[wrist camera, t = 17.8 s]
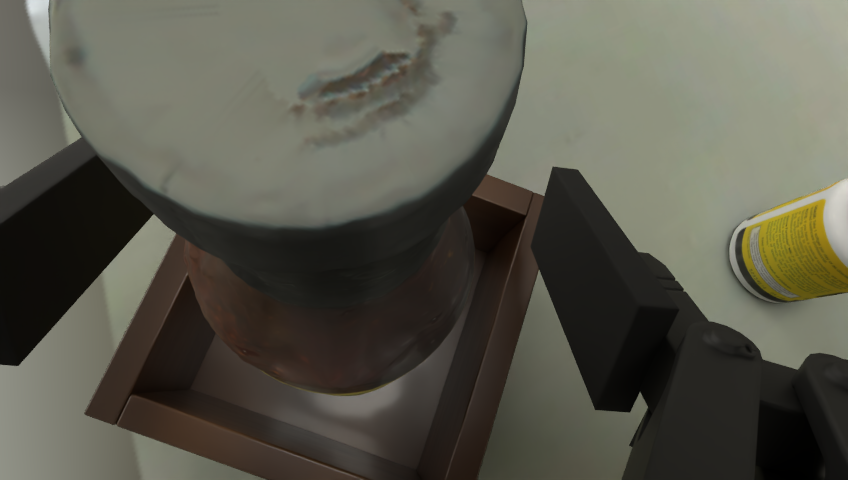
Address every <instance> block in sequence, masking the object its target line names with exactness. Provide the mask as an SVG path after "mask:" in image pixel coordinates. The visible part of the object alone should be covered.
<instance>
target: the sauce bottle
mask: <svg viewBox="0 0 848 480" xmlns="http://www.w3.org/2000/svg"><path fill="white" fill-rule="evenodd" d="M48 11H49V29H50V75H51V78H52V80H53V83H54V85H55V87H56V90H57V92H58V95H59V97H60V99H61V102H62V104H63V107H64V109H65V111H66V113H67V114H68V116H69V118H70V119H71V121H72V122H73V124H74V125H75V127H76V129H77V130H78V132H79V133H80V135H81V137H82V138H83V140H84V141H85V142H86V143H87V144H88V145H89V146H90V148H91V149H92V150H93V151H94V152H95V153H96V154H97V156H98V157H99V158H100V159H101V160H102V161H103V163H104V164H105V165H106V166H107V167H108V168H109V169H110V171H111V172H112V173H113V174H114V175H115V177H116V178H117V179H118V180H119V181H120V182H121V183H122V184H123V186H124V187H125V188H126V189H127V190H128V191H129V192H130V193H131V194H132V195H133V196H134V197H136V198H137V199H139V200H140V201H141V202H142V203H143V204H144V205H145V206H146V207H147V208H148V209H149V210H150V211H152V212H153V213H154V214H155V215H156V216H157V217H158V218H159V219H160V220H161V221H162V222H163V223H164V224H165V225H166V226H167V227H168V228H170V229H171V230H173V231H174V232H175V233H177V234H178V235H180V236H181V237H183V238H184V239H185V249H184V262H185V264H186V266H187V271H188V275H189V279H190V281H191V284H192V286H193V289H194V291H195V295H196V299H197V301H198V303H199V305H200V307H201V310H202V313H203V315H204V317H205V319H206V320H207V321H208V322H209V324H210V326H211V328H212V329H213V330H214V331H215V332H216V333H217V334H218V336H219V337H220V338H221V340H222V341H223V342H224V343H225V344H226V345H227V346H228V347H229V348H230V349H231V350H232V351H233V352H235V353H236V354H237V355H238V356H239V358H241V359H242V360H243V361H244V362H246V363H248V364H251V365H253V366H254V367H256V368H258V369H260V370H261V371H262V372H264V373H265V374H267V375H269V376H271V377H272V378H274V379H276V380H278V381H280V382H282V383H284V384H287V385H289V386H292V387H295V388H298V389H301V390H305V391H309V392H314V393H322V394H328V395H334V396H357V395H361V394H365V393H369V392H372V391H375V390H377V389H380V388H382V387H384V386H386V385H388V384H390V383H391V382H393V381H395V380H397V379H399V378H400V377H402V376H404V375H405V374H407V373H408V372H410V371H411V370H413V369H415V368H416V367H417V366H418V365H420V364H421V363H422V362H424V361H425V360H426V359H427V358H428V357H429V356H430V355H431V354H432V353H433V352H434V351H435V350H436V349H437V348H438V347H439V346H440V345H441V343H442V342H443V341H444V340H445V338H446V337H447V336H448V335H449V333H450V332H451V331H452V329H453V327H454V325H455V324H456V322H457V320H458V318H459V317H460V315H461V313H462V311H463V308H464V306H465V304H466V301H467V298H468V295H469V292H470V288H471V283H472V278H473V274H474V255H475V247H474V240H473V234H472V230H471V226H470V222H469V219H468V216H467V214H466V211H465V209H464V207H463V205H464V204H465V203H466V202H467V201H468V199H469V198H470V197H471V195H472V194H473V193H474V192H475V190H476V189H477V188H478V186H479V185H480V184H481V182H482V180H483V179H484V177H485V175H486V174H487V172H488V170H489V168H490V167H491V165H492V163H493V161H494V158H495V155H496V152H497V150H498V148H499V144H500V142H501V140H502V138H503V135H504V132H505V130H506V127H507V124H508V122H509V119H510V117H511V114H512V111H513V109H514V106H515V103H516V98H517V94H518V89H519V84H520V79H521V75H522V71H523V67H524V56H525V44H526V32H527V20H526V16H525V12H524V8H523V5H522V0H49V8H48Z"/></svg>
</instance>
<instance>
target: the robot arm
mask: <svg viewBox="0 0 848 480" xmlns="http://www.w3.org/2000/svg"><path fill="white" fill-rule="evenodd" d="M153 214H154V213H153V212H152V211H150V210H149V209H148V208H147V207H146V206H145V205H144V204H143V203H142V202H141V201H140V200H139V199H137V198H136V197H134V196H133V195H132V194H131V193H130V192H129V191H128V190H127V189H126V188H125V187H124V186H123V184H122V183H121V182H120V181H119V180H118V179H117V178H116V177H115V175H114V174H113V173H112V172H111V171H110V169H109V168H108V167H107V166H106V165H105V164H104V163H103V161H102V160H101V159H100V158H99V157H98V156H97V154H96V153H95V152H94V151H93V150H92V149H91V148H90V146H89V145H88V144H87V143H86V142H85V141H84V140H83V138H80V139H79V140H77V141H75V142H74V143H72V144H71V145H69V146H68V147H66V148H64V149H63V150H61V151H60V152H58V153H56V154H55V155H53V156H52V157H50V158H49V159H47V160H45V161H44V162H42V163H41V164H39V165H38V166H36V167H34V168H33V169H31V170H30V171H28V172H27V173H25V174H23V175H22V176H20V177H19V178H17V179H16V180H14V181H13V182H11V183H9V184H8V185H6V186H1V187H0V364H1V365H12V366H19V364H20V363H21V362H22V361H23V360H24V359H25V358H26V357H27V356H28V354H29V353H30V352H31V351H32V350H33V349H34V348H35V346H36V345H37V344H38V343H39V342H40V341H41V340H42V339H43V338H44V336H45V335H46V334H47V333H48V332H49V331H50V330H51V328H52V327H53V326H54V325H55V324H56V323H57V322H58V321H59V320H60V319H61V317H62V316H63V315H64V314H65V313H66V312H67V311H68V309H69V308H70V307H71V306H72V305H73V304H74V303H75V302H76V301H77V299H78V298H79V297H80V296H81V295H82V294H83V293H84V291H85V290H86V289H87V288H88V287H89V286H90V285H91V284H92V283H93V282H94V280H95V279H96V278H97V277H98V276H99V275H100V274H101V273H102V271H103V270H104V269H105V268H106V267H107V266H108V265H109V264H110V262H111V261H112V260H113V259H114V258H115V257H116V256H117V255H118V254H119V252H120V251H121V250H122V249H123V248H124V247H125V246H126V245H127V243H128V242H129V241H130V240H131V239H132V238H133V237H134V236H135V234H136V233H137V232H138V231H139V230H140V229H141V228H142V227H143V225H144V224H145V223H146V222H147V221H148V220H149V219H150V218H151V216H152V215H153ZM530 247H531V250H532V252H533V255H534V257H535V260H536V262H537V265H538V267H539V270H540V272H541V275H542V277H543V280H544V282H545V285H546V287H547V290H548V292H549V295H550V297H551V300H552V302H553V305H554V308H555V310H556V313H557V315H558V318H559V320H560V323H561V325H562V328H563V330H564V333H565V335H566V338H567V340H568V343H569V345H570V348H571V350H572V353H573V355H574V358H575V360H576V363H577V365H578V368H579V370H580V373H581V375H582V378H583V380H584V383H585V385H586V388H587V390H588V393H589V395H590V398H591V400H592V403H593V406H594V408H595V410H604V411H617V412H630V411H631V409H632V407H633V405H634V403H635V401H636V399H637V397H638V395H639V392H641V394H642V396H643V398H644V400H645V402H646V404H647V406H648V409H647V411H646V413H645V415H644V417H643V419H642V421H641V423H640V425H639V427H638V429H637V431H636V433H635V435H634V437H633V439H632V441H631V443H630V445H629V446H631V447H632V450H631V453H630V456H629V459H628V462H627V465H626V468H625V471H624V474H623V477H622V480H848V360H846V359H841V358H839V357H836V356H833V355H828V354H823V353H817V354H810V355H809V356H808V357H807V358H806V359H805V361H804V362H803V364H802V365H801V366H800V368H799V369H798V370H796V369H792V368H789V367H786V366H782V365H779V364H776V363H772V362H769V361H765V360H762V357H761V353H760V350H759V349H758V348H757V347H756V346H755V344H754V343H753V342H752V341H751V340H749V339H748V338H747V337H745V336H744V335H743V334H741V333H739V332H737V331H736V330H734V329H732V328H730V327H728V326H725V325H721V324H718V323H715V322H709V321H708V320H707V318H706V317H705V316H704V315H703V313H702V312H701V311H700V309H699V308H698V307H697V306H696V304H695V303H694V302H693V300H692V299H691V298H690V297H689V295H688V294H687V293H686V292H683V290H684V289H683V288H682V286H681V285H680V284H679V283H678V281H675V277H674V276H673V275H672V274H671V272H670V271H669V270H668V268H667V267H666V266H665V265H664V264H662V263H661V262H660V261H658V260H657V259H656V258H654V257H653V256H652V255H650V254H649V253H641V252H637V250H636V249H635V248H634V246H633V245H632V243H631V242H630V241H629V239H628V238H627V237H626V235H625V234H624V232H623V231H622V230H621V228H620V227H619V226H618V224H617V223H616V221H615V220H614V219H613V217H612V216H611V215H610V213H609V212H608V210H607V209H606V208H605V206H604V205H603V204H602V202H601V201H600V199H599V198H598V197H597V195H596V194H595V193H594V191H593V190H592V188H591V187H590V186H589V184H588V183H587V182H586V180H585V179H584V177H583V176H582V175H581V173H580V172H579V171H578V170H576V169H567V168H559V167H553V168H552V171H551V175H550V178H549V182H548V186H547V189H546V193H545V196H544V200H543V203H542V207H541V210H540V214H539V218H538V221H537V225H536V228H535V232H534V235H533V239H532V242H531V246H530Z"/></svg>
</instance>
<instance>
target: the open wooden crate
mask: <svg viewBox="0 0 848 480" xmlns="http://www.w3.org/2000/svg"><path fill="white" fill-rule="evenodd" d="M543 200H544V196H542V195H539V194H537V193H533V192H532V191H529V190H527V189H524V188H521V187H519V186H516V185H513V184H511V183H508V182H505V181H503V180H500V179H498V178H495V177H492V176H490V175H487V174H486V175H485V177H484V179H483V180H482V182H481V184H480V185H479V186H478V188H477V189H476V190H475V192H474V193H473V194H472V195H471V197H470V198H469V199H468V201H467V202H466V203H465V204H464V205H463V207H464V209H465V211H466V214H467V216H468V219H469V222H470V226H471V230H472V234H473V240H474V247H475V255H474V274H473V278H472V283H471V288H470V292H469V295H468V298H467V301H466V304H465V306H464V308H463V311H462V313H461V315H460V317H459V318H458V320H457V322H456V324H455V325H454V327H453V329H452V331H451V332H450V333H449V335H448V336H447V337H446V338H445V340H444V341H443V342H442V343H441V345H440V346H439V347H438V348H437V349H436V350H435V351H434V352H433V353H432V354H431V355H430V356H429V357H428V358H427V359H426V360H425V361H424V362H422V363H421V364H420V365H418V366H417V367H416V368H415V369H413V370H411V371H410V372H408V373H407V374H405V375H404V376H402V377H400V378H399V379H397V380H395V381H393V382H391V383H390V384H388V385H386V386H384V387H382V388H380V389H377V390H375V391H372V392H369V393H365V394H361V395H357V396H334V395H328V394H322V393H314V392H309V391H305V390H301V389H298V388H295V387H292V386H289V385H287V384H284V383H282V382H280V381H278V380H276V379H274V378H272V377H271V376H269V375H267V374H265V373H264V372H262V371H261V370H260V369H258V368H256V367H254V366H253V365H251V364H248V363H246V362H244V361H243V360H242V359H241V358H239V356H238V355H237V354H236V353H235V352H233V351H232V350H231V349H230V348H229V347H228V346H227V345H226V344H225V343H224V342H223V341H222V340H221V338H220V337H219V336H218V334H217V333H216V332H215V331H214V330H213V329H212V328H211V326H210V324H209V322H208V321H207V320H206V319H205V317H204V315H203V313H202V310H201V307H200V305H199V303H198V301H197V299H196V295H195V291H194V289H193V286H192V284H191V281H190V279H189V275H188V271H187V266H186V264H185V262H184V249H185V239H184V238H183V237H181V236H180V235H178V234H177V233H176V234H175V236H174V238H173V240H172V242H171V244H170V246H169V248H168V250H167V252H166V254H165V256H164V258H163V259H162V261H161V263H160V265H159V267H158V269H157V271H156V273H155V275H154V277H153V279H152V281H151V283H150V285H149V287H148V289H147V291H146V293H145V295H144V297H143V299H142V301H141V303H140V305H139V306H138V308H137V310H136V312H135V314H134V316H133V318H132V320H131V322H130V324H129V326H128V328H127V330H126V332H125V334H124V336H123V338H122V340H121V342H120V344H119V346H118V348H117V350H116V352H115V353H114V355H113V357H112V359H111V361H110V363H109V365H108V367H107V369H106V371H105V373H104V375H103V377H102V379H101V381H100V383H99V385H98V387H97V389H96V391H95V393H94V395H93V397H92V399H91V400H90V403H89V405H88V406H87V409H86V410H85V413H84V414H85V415H87V416H90V417H92V418H95V419H98V420H101V421H104V422H107V423H110V424H112V425H115V424H117V426H118V427H121V428H124V429H127V430H129V431H132V432H135V433H138V434H141V435H143V436H146V437H149V438H152V439H155V440H157V441H160V442H163V443H166V444H169V445H171V446H174V447H177V448H180V449H183V450H185V451H188V452H191V453H194V454H197V455H199V456H202V457H205V458H208V459H211V460H213V461H216V462H219V463H222V464H225V465H227V466H230V467H233V468H236V469H239V470H241V471H244V472H247V473H250V474H252V475H255V476H258V477H261V478H264V479H266V480H477V478H478V475H479V471H480V468H481V465H482V461H483V458H484V454H485V451H486V448H487V444H488V441H489V437H490V434H491V431H492V427H493V424H494V420H495V417H496V414H497V410H498V407H499V403H500V400H501V396H502V393H503V390H504V386H505V383H506V379H507V376H508V373H509V369H510V366H511V362H512V359H513V356H514V352H515V349H516V345H517V342H518V339H519V335H520V332H521V328H522V325H523V322H524V318H525V315H526V311H527V308H528V304H529V301H530V298H531V294H532V291H533V287H534V284H535V281H536V277H537V274H538V270H539V267H538V265H537V262H536V260H535V257H534V255H533V252H532V250H531V247H530V246H531V242H532V239H533V235H534V232H535V228H536V225H537V221H538V218H539V214H540V210H541V207H542V203H543Z"/></svg>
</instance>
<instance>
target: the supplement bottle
mask: <svg viewBox="0 0 848 480" xmlns="http://www.w3.org/2000/svg"><path fill="white" fill-rule="evenodd" d="M729 256H730V262H731V265H732V268H733V271H734V273H735V275H736V276H737V278H738V280H739V281H740V282H741V283H742V285H743V286H744V287H745V288H746V289H747V290H748V291H750V292H751V293H752V294H754V295H755V296H757V297H759V298H761V299H763V300H766V301H769V302H774V303H789V302H795V301H801V300H807V299H812V298H819V297H825V296H831V295H837V294H842V293H848V178H847V179H844V180H841V181H838V182H836V183H834V184H831V185H829V186H826V187H824V188H822V189H819V190H817V191H814V192H812V193H809V194H807V195H804V196H802V197H799V198H796V199H794V200H791V201H789V202H787V203H784V204H782V205H779V206H777V207H774V208H771V209H769V210H767V211H764V212H762V213H760V214H757V215H754V216H752V217H750V218H748V219H746V220H745V221H743V222H742V223H741V224H740V225H739V226H738V227H737V229H736V230H735V232H734V234H733V236H732V239H731V242H730V247H729Z"/></svg>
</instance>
